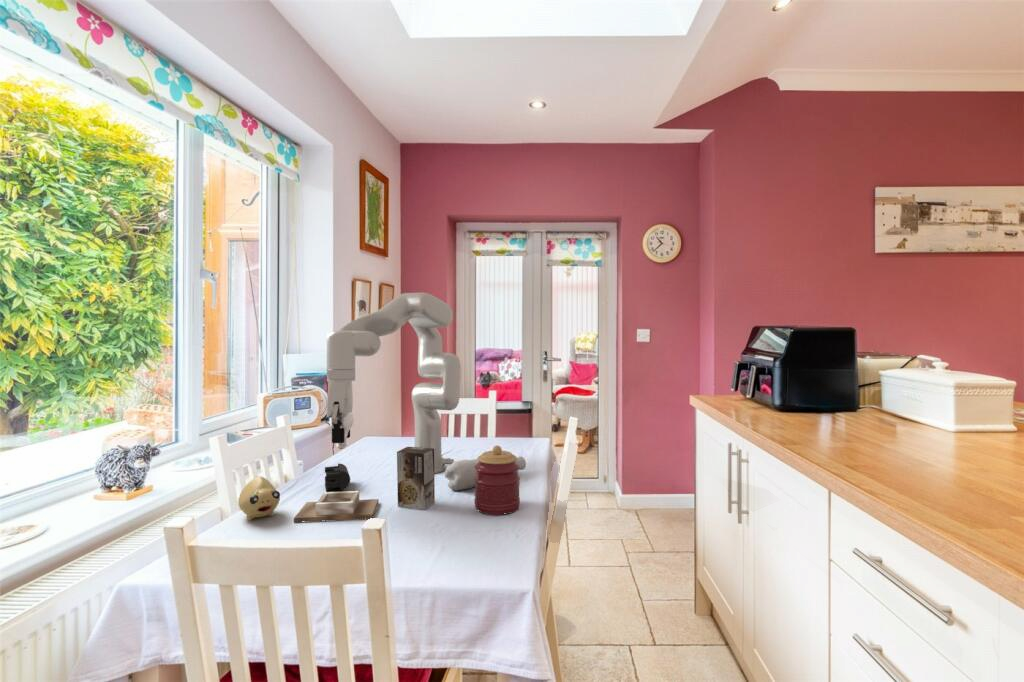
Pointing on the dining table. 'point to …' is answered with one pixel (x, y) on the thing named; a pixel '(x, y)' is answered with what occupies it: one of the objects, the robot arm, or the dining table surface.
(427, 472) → the coffee box
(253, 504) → the golden cartoon creature figurine
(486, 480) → the canister
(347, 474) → the end cap
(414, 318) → the robot arm
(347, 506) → the socket board
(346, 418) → the lightbulb
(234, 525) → the dining table surface
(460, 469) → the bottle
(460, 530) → the dining table surface
